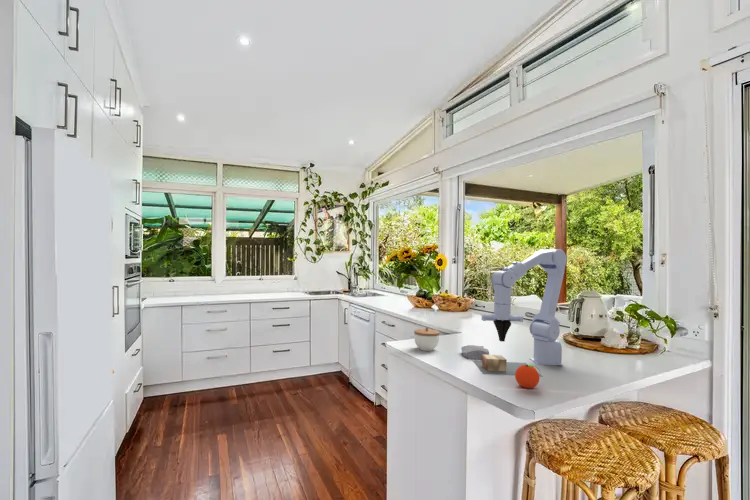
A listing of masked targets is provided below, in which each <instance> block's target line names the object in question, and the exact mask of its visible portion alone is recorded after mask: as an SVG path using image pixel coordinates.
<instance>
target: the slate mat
mask: <svg viewBox="0 0 750 500" xmlns="http://www.w3.org/2000/svg"><path fill="white" fill-rule="evenodd" d="M472 362H473V363H474V364H475V366H476V367H477V368H478V369H479V371H480V372H481V373H482V374H483V375H497V376H499V375H500V376H515V373H516V370H517V369H518V367H520V366H522V365H529V364H528V363H526V362H516V361H515V362H513V361H507V365H506V371H487V370H485V369H484V367H483V366H482V360H472ZM538 374H539V378H540V377H541V378H542V377H544V376H543V375H542V374H541V373H540V372H538Z"/></svg>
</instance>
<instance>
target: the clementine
mask: <svg viewBox="0 0 750 500" xmlns="http://www.w3.org/2000/svg"><path fill="white" fill-rule="evenodd" d="M536 368H537V369H536ZM538 373H539V374H541V369H538V367H537V366H535V365H533V364H528V365H522V366H520V367H518V369H517V370H516V373H515V375H514V377H515V380H516V382H517V384H518V385H519V386H521V387H522V388H525V389H533V388H535V387H537V385H539V382H540V376H539V374H538Z"/></svg>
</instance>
